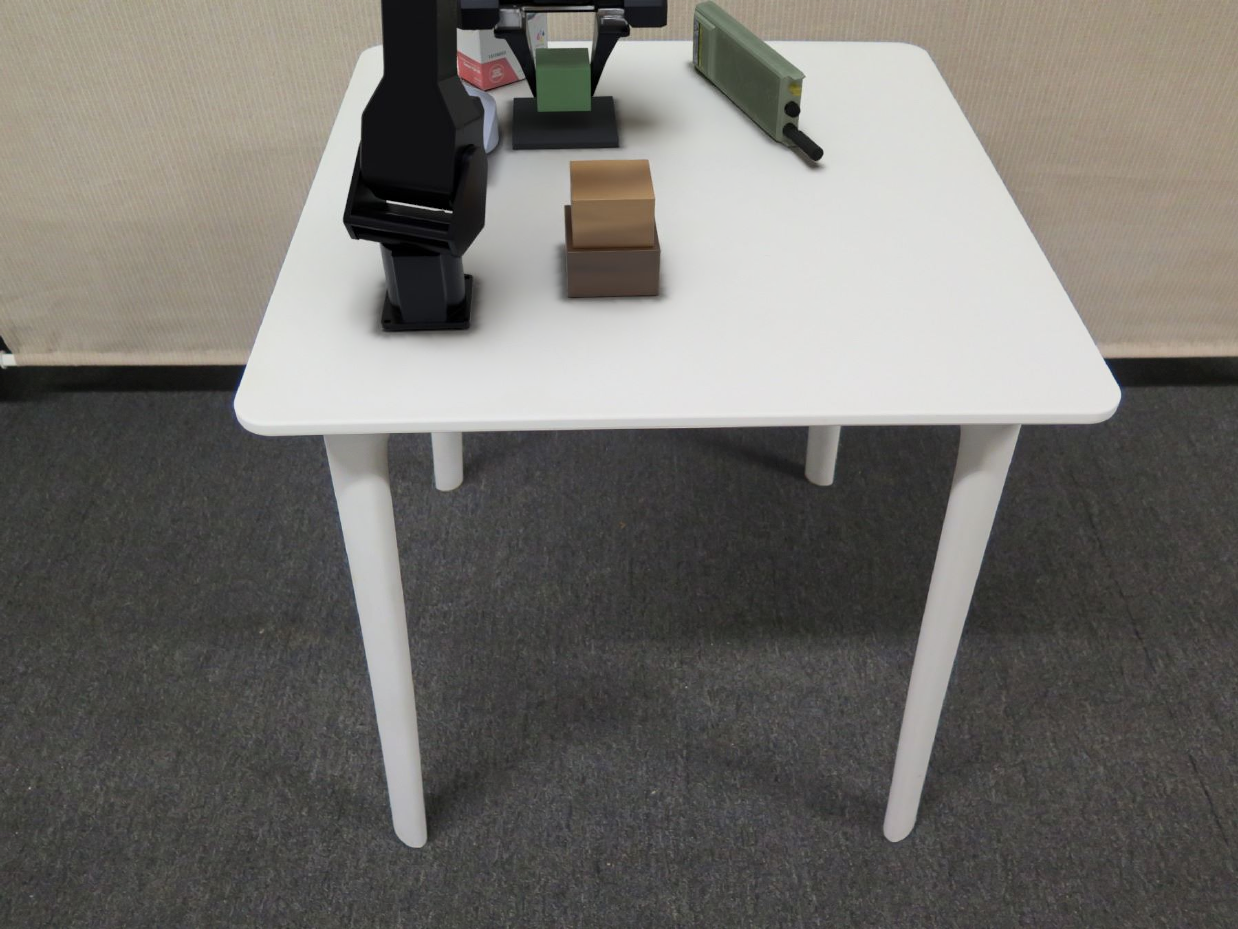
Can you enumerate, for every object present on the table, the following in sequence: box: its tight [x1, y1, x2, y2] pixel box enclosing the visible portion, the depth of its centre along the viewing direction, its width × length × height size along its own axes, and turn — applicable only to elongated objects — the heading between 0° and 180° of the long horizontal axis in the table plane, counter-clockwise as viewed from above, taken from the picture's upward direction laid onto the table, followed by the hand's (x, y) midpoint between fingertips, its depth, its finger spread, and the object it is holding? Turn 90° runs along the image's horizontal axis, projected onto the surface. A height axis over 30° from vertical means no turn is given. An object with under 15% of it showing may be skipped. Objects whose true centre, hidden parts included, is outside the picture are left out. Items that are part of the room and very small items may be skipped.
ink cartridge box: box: [457, 13, 549, 91], centre depth 102 cm, size 9×5×15 cm, turn 130°
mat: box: [511, 95, 620, 150], centre depth 99 cm, size 10×10×1 cm
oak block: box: [569, 158, 656, 248], centre depth 76 cm, size 6×6×4 cm
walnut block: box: [563, 204, 661, 298], centre depth 79 cm, size 7×7×4 cm
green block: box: [536, 47, 591, 112], centre depth 96 cm, size 5×5×4 cm
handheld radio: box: [692, 0, 825, 162], centre depth 99 cm, size 7×3×25 cm
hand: (563, 94), depth 97 cm, fingers closed on green block, 5 cm apart
